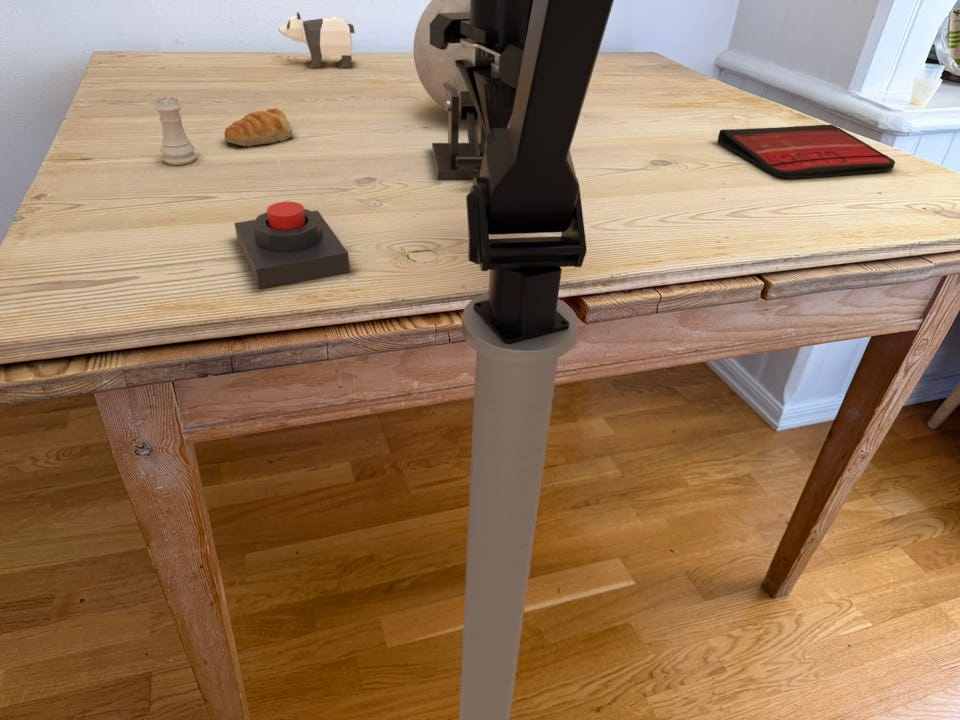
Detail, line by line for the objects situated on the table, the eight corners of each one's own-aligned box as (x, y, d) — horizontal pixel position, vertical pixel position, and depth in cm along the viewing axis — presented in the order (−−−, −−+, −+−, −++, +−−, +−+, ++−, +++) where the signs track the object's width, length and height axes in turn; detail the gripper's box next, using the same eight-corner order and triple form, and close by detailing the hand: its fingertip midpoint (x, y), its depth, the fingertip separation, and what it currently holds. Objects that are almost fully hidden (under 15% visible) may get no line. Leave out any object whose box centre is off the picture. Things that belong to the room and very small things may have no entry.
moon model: (393, 123, 108) (388, -19, 96) (444, 93, 123) (445, -33, 112) (510, 143, 103) (520, -5, 91) (548, 109, 118) (561, -21, 106)
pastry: (242, 152, 95) (237, 125, 92) (215, 141, 98) (210, 114, 96) (297, 137, 101) (293, 111, 98) (270, 127, 104) (266, 102, 102)
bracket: (504, 178, 91) (509, 103, 85) (437, 179, 90) (438, 103, 84) (493, 150, 100) (496, 81, 94) (432, 151, 98) (432, 80, 93)
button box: (349, 272, 69) (346, 236, 66) (259, 289, 65) (253, 251, 63) (319, 228, 76) (316, 194, 74) (237, 241, 73) (231, 206, 71)
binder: (719, 127, 105) (832, 122, 110) (715, 142, 107) (826, 136, 112) (781, 169, 93) (904, 161, 98) (775, 185, 95) (897, 176, 100)
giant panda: (356, 61, 140) (353, 10, 135) (357, 68, 136) (353, 15, 130) (283, 61, 138) (277, 9, 132) (282, 68, 133) (275, 14, 128)
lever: (494, 171, 86) (496, 157, 84) (455, 171, 86) (457, 157, 84) (485, 105, 92) (487, 91, 90) (448, 105, 91) (449, 90, 89)
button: (309, 229, 68) (308, 212, 67) (273, 234, 67) (271, 218, 66) (300, 215, 71) (298, 199, 70) (265, 220, 69) (263, 204, 68)
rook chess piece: (163, 167, 89) (148, 105, 84) (161, 156, 92) (146, 95, 88) (198, 163, 91) (186, 102, 86) (195, 152, 94) (183, 93, 89)
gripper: (650, -29, 54) (618, 163, 63) (530, -54, 67) (518, 108, 76) (529, -27, 49) (514, 179, 59) (427, -54, 63) (427, 118, 72)
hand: (494, 141), depth 66 cm, fingers closed
